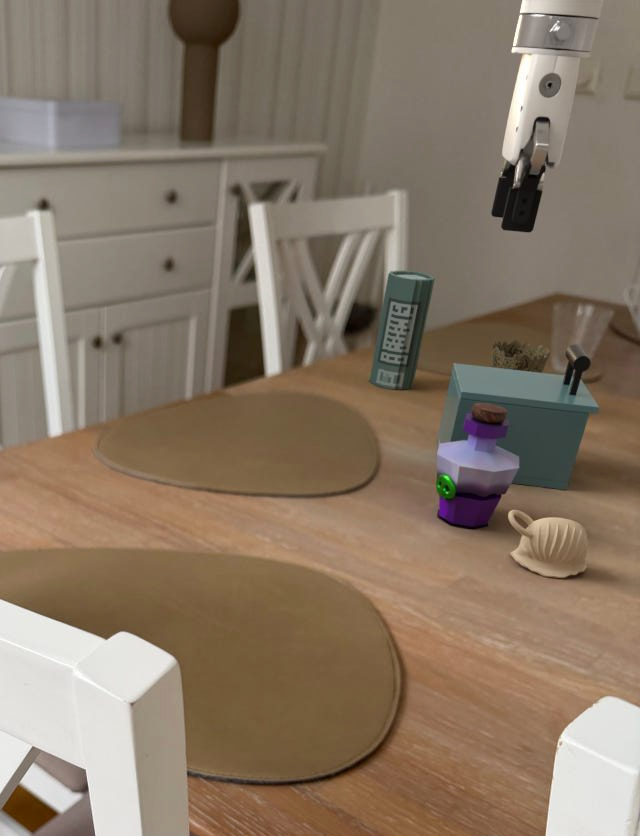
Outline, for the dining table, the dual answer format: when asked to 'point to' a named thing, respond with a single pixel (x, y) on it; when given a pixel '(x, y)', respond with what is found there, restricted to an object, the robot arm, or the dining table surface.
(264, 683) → the dining table surface
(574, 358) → the freezer lid
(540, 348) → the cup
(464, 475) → the potion bottle
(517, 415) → the box
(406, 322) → the can
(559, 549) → the decorative ornament
